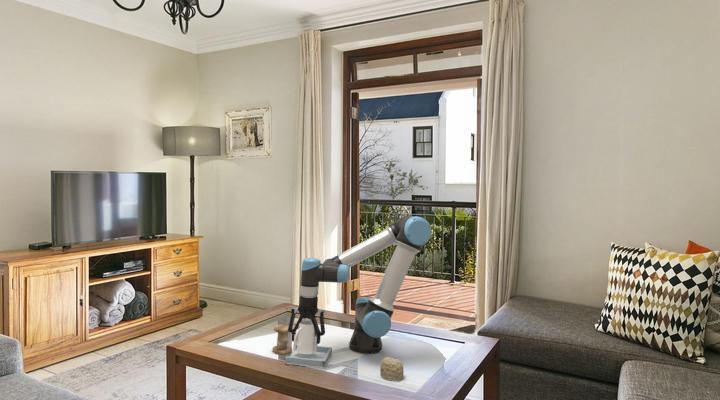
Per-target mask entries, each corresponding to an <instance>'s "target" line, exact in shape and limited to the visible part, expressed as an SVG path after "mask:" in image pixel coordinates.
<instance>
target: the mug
mask: <svg viewBox="0 0 720 400" xmlns="http://www.w3.org/2000/svg"><path fill="white" fill-rule="evenodd" d="M316 335H317V334H316V332H315V329H314V325H313V323H312V321H311V319H302V321H301V323H299V326H298V329H297V331H296V335H295V344H296V352H298V353H300V354H313V353H315V352H314V344H315V336H316Z"/></svg>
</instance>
